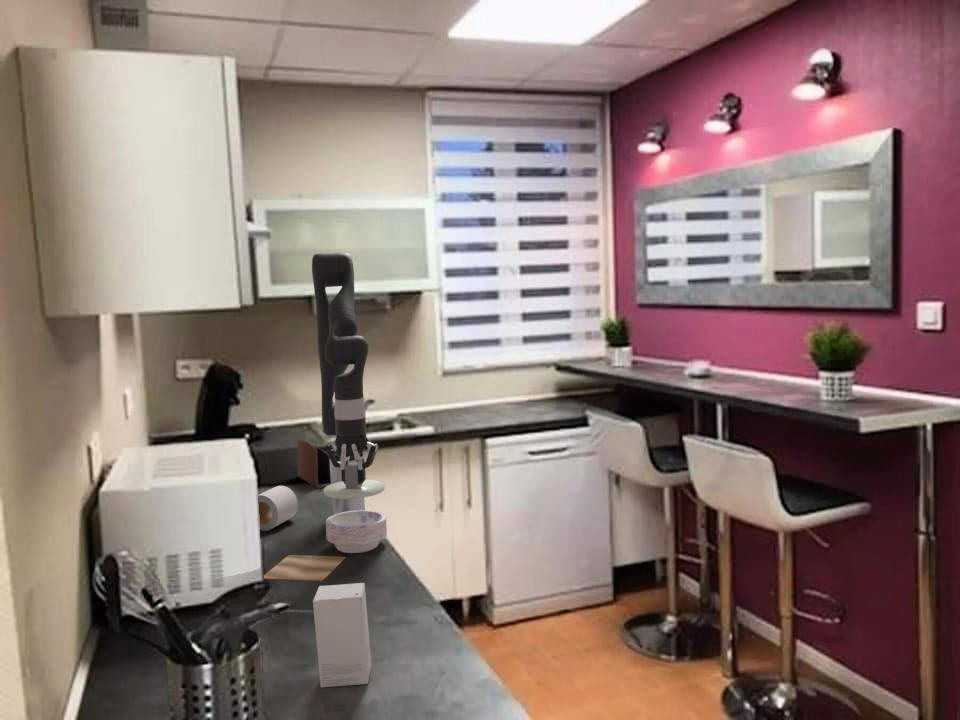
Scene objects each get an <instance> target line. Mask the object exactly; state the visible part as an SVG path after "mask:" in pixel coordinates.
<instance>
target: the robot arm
mask: <svg viewBox="0 0 960 720" xmlns="http://www.w3.org/2000/svg"><path fill="white" fill-rule="evenodd" d="M311 275H312V282H313V291H314V299H315V306H316V319H317V320H316V323H317V324H316V325H317V327H316V328H317V349H318V357H319V358H318V360H319V369H320V378H321V379H320V380H321V381H320V383H321V423H322V424H321V425H322V429H323V433H324V434H325V435H326V436H336V437H335V440H334V442H332V443H328V444H327V445H326V446H325V451H327V453H328V455H329V457H330V474H331V484H333V483H337V482H341V481H342V482H344V484H346V482H345V465H346V464H348V463H349V462H355V463H357V466H358V469H359V470H358V483H359V484H363V483H364V481H365V480H367V477H366V474H367V473H366V469H367V468H369V467H371V466H372V465H373V463H374V460H375V458H376V454H377V452H378V449H379V444H378V443H372V442H371V441H369V439H368V437H367V422H366V421H367V420H366V404H365V400H364V383H363V382H364V373H365V372H364V371H365V366H366V362H367V358H368V353H369V344H368V342H367V340H366V339H365V337H364V336H361V335H357V333H358V323H357V318H356V317H357V315H356V311H355V270H354V262H353V259H352V257H351V255H350V254H349V253H347V252H326V253H325V252H323V253H315V254H314V255H313V256H312V260H311ZM333 287H341V289H340V290H339V291H338V292H337V294H336V295H335V297H334V298H333V299H332V300H330V299H329V297H328V294H327V292H326V288H333ZM349 365H353V368H352V369H351V370H350V371H348V372H346V370H347V368H348V367H349ZM366 448H367V452H368V453H367V457H366V460H365V453H364V450H365V449H366ZM365 502H366V501H365V497H364V498H356V499H336V498H331V504H332V505H331V506H332V515H335V514H338V513H342V512H347V511H358V510H366V503H365Z"/></svg>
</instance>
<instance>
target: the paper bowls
mask: <svg viewBox="0 0 960 720" xmlns="http://www.w3.org/2000/svg"><path fill="white" fill-rule="evenodd" d="M387 532H388V528H387V516H386V514H384V513H382V512H379V511H373V510H368V509H367V510H366V509H365V510H358V511H347V512H342V513H338V514H335V515H333V514H332V515H331V516H329V517H327V519H326V520H325V533H326V535H325V536H326V541H328V542H329V543H331V544H334V546H335V548H336V550H337V551H339V552H340V553H346V554H358V553H359V554H361V553H366V552H370V551H372V550H374V549H376V548H377V547H378V546H379V544H380V542H381V541H382V540H384V539H385V538H386V537H387V536H388V534H387Z"/></svg>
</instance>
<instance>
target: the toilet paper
mask: <svg viewBox="0 0 960 720" xmlns="http://www.w3.org/2000/svg"><path fill="white" fill-rule="evenodd" d="M257 495H258V503H259V514H260V527H261V530H260V531H262V532H264V531H265V532H267V531H271V530H272V529H274V528H275V527H277V526H279V525H281V524H283V523H285V522H287V521H289V520H290V519H292V518H294V517H295V516H296V513H297V512H298V509H299V502H298V497H297V495H296V494H295V492H294V491H293V490H292V489H291V488H289V487H288V486H285V485H277V486H275V487H273V488H270V489H268V490H266V491H263V492H262V493H260V494H259V493H258V494H257Z"/></svg>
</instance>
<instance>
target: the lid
mask: <svg viewBox="0 0 960 720" xmlns="http://www.w3.org/2000/svg"><path fill="white" fill-rule="evenodd" d="M358 470H359V469H358V466H357V463H355V462H349V463H348V464H346V465H345V482H346V484H344V482H342V481H341V482H337V483H333V484H330V485H328V486H326V487H323V495H324V496H325V497H327V498H330V499H332V498H336V499H356V498H364V499H365V498H368V497H373V496H376V495H379V494H380V493H382V492H384V491H385V483H383V482H381V481H379V480H375V479H365V481H364V483H363V484H359V483H358Z"/></svg>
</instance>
